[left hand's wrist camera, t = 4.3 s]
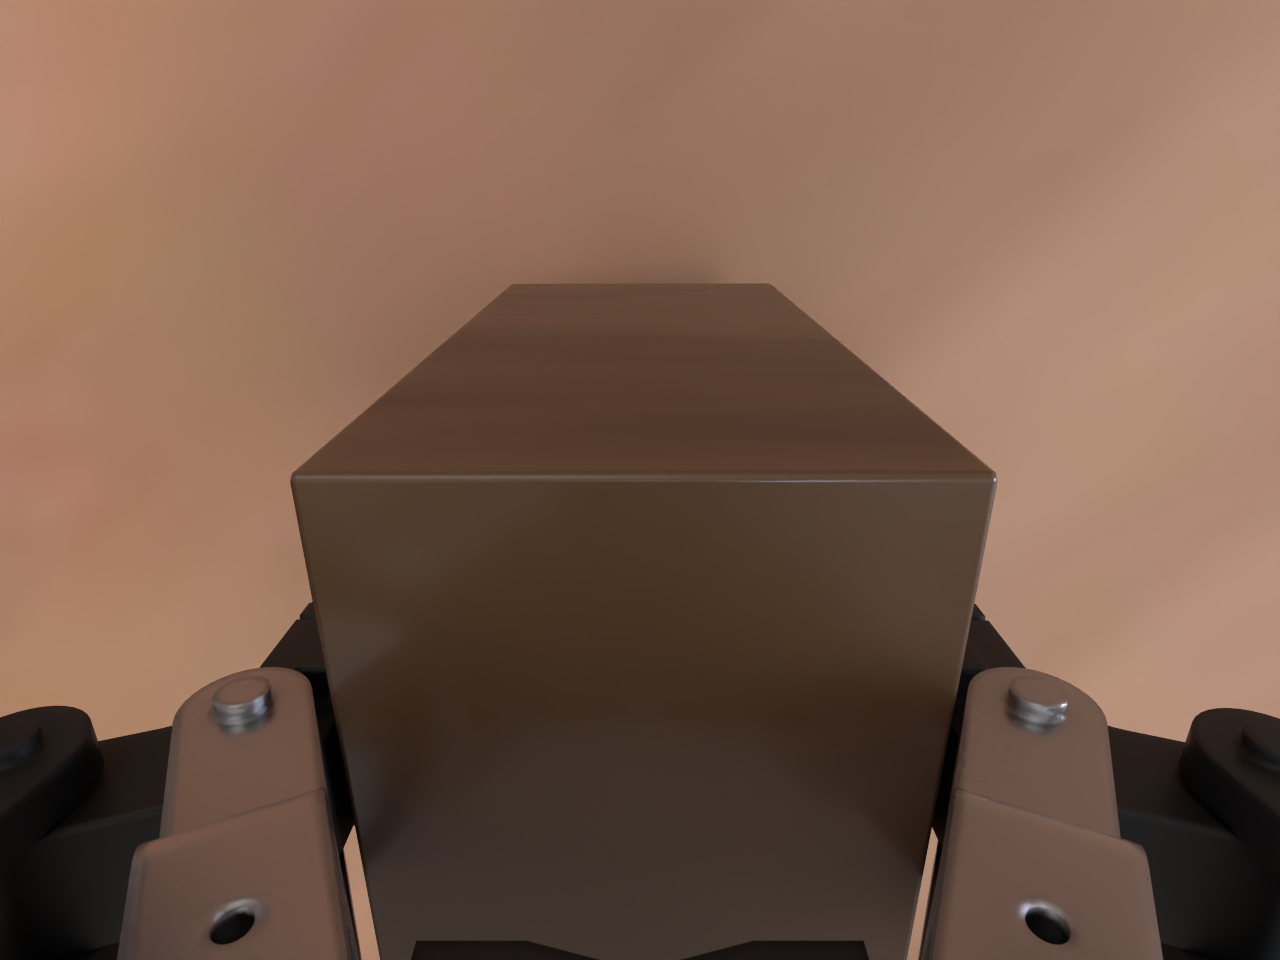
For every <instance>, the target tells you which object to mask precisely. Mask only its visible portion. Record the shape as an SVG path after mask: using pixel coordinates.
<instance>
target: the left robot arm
mask: <svg viewBox="0 0 1280 960" xmlns="http://www.w3.org/2000/svg"><path fill="white" fill-rule="evenodd" d="M353 825H355V823H354V817H353V812H352V807H351V801H350V796H349V791H348V785H347V780H346V775H345V770H344V764H343V759H342V754H341V748H340V743H339V738H338V732H337V727H336V722H335V716H334V711H333V706H332V700H331V695H330V690H329V685H328V679H327V674H326V669H325V663H324V658H323V653H322V647H321V642H320V637H319V631H318V626H317V621H316V616H315V610H314V605H313V602H312V603H309V604H308V605H307V607H306V608H305V609H304V611H303V612H302V613H301V615H300V620H296V621H295V622H294V624H293V625H292V626H291V627H290V629H289V630H288V631H287V633H286V634H285V635H284V637H283V638H282V639H281V640H280V642H279V643H278V644H277V646H276V647H275V648H274V650H273V651H272V652H271V653H270V655H269V656H268V657H267V659H266V660H265V661H264V663H263V664H262V665H261V666H260V668H255V669H250V670H245V671H241V672H238V673H234V674H231V675H228V676H226V677H223V678H221V679H219V680H216V681H214V682H212V683H210V684H208V685H207V686H205V687H203V688H202V689H200V690H199V691H197V692H196V693H194V694H193V695H192V696H191V697H190V698H188V699H187V700H186V701H185V702H184V703H183V705H182V706H181V707H180V708H179V709H178V711H177V713H176V715H175V717H174V721H173V726H170V727H165V728H161V729H157V730H152V731H147V732H142V733H137V734H132V735H127V736H122V737H117V738H112V739H108V740H103V741H98V740H97V737H96V734H95V731H94V728H93V725H92V722H91V719H90V718H89V716H88V715H87V714H86V713H85V712H84V711H82V710H80V709H77V708H74V707H68V706H47V707H39V708H33V709H28V710H24V711H20V712H16V713H13V714H10V715H7V716H4V717H1V718H0V960H362V959H361V952H360V946H359V940H358V933H357V927H356V921H355V914H354V908H353V902H352V896H351V889H350V883H349V877H348V870H347V864H346V859H345V854H344V849H343V848H344V845H345V843H346V841H347V839H348V836H349V834H350V832H351V830H352V827H353ZM932 828H933V830H934V832H935V834H936V836H937V839H938V844H937V849H936V854H935V859H934V864H933V870H932V876H931V883H930V889H929V895H928V902H927V908H926V914H925V921H924V927H923V933H922V940H921V946H920V952H919V958H918V960H1280V719H1279V718H1275V717H1272V716H1269V715H1266V714H1262V713H1258V712H1254V711H1249V710H1243V709H1233V708H1216V709H1211V710H1207V711H1204V712H1201V713H1200V714H1198V715H1197V716H1196V717H1195V718H1194V720H1193V722H1192V724H1191V727H1190V730H1189V733H1188V736H1187V739H1186V742H1181V741H1176V740H1171V739H1166V738H1161V737H1156V736H1151V735H1146V734H1141V733H1136V732H1132V731H1127V730H1122V729H1118V728H1114V727H1111V726H1108V725H1107V721H1106V717H1105V715H1104V713H1103V711H1102V710H1101V708H1100V707H1099V706H1098V705H1097V703H1096V702H1095V701H1094V700H1093V699H1091V698H1090V697H1089V696H1088V695H1087V694H1085V693H1084V692H1083V691H1081V690H1080V689H1078V688H1077V687H1075V686H1073V685H1072V684H1070V683H1068V682H1066V681H1064V680H1061V679H1059V678H1057V677H1054V676H1052V675H1049V674H1046V673H1042V672H1039V671H1035V670H1030V669H1026V668H1025V667H1024V666H1023V664H1022V663H1021V662H1020V660H1019V659H1018V658H1017V657H1016V655H1015V654H1014V653H1013V652H1012V650H1011V649H1010V648H1009V646H1008V645H1007V644H1006V643H1005V641H1004V640H1003V639H1002V637H1001V636H1000V635H999V634H998V632H997V631H996V630H995V628H994V627H993V626H992V625H991V623H990V622H989V621H985V616H984V614H983V613H982V612H981V611H980V609H979V608H978V607H977V605H976V604H974V607H973V612H972V617H971V623H970V628H969V633H968V638H967V644H966V649H965V654H964V660H963V665H962V670H961V675H960V681H959V686H958V691H957V697H956V702H955V707H954V712H953V718H952V723H951V728H950V733H949V739H948V744H947V749H946V755H945V760H944V765H943V770H942V776H941V781H940V786H939V791H938V797H937V802H936V807H935V813H934V818H933V823H932ZM411 960H599V959H595V958H591V957H587V956H584V955H580V954H576V953H572V952H568V951H564V950H561V949H557V948H553V947H549V946H545V945H541V944H538V943H534V942H530V941H416V944H415V947H414V950H413V954H412V957H411ZM681 960H869V957H868V954H867V950H866V947H865V944H864V941H750V942H746V943H742V944H739V945H735V946H731V947H727V948H723V949H719V950H716V951H712V952H708V953H704V954H700V955H696V956H693V957H689V958H685V959H681Z"/></svg>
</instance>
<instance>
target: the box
mask: <svg viewBox="0 0 1280 960" xmlns="http://www.w3.org/2000/svg"><path fill="white" fill-rule="evenodd" d="M996 486H997V477H996V473H995V472H994V471H993V470H992V469H991V468H989V467H988V466H987V465H986V464H985V463H983V462H982V461H981V460H980V459H979V458H977V457H976V456H975V455H974V454H973V453H971V452H970V451H969V450H968V449H967V448H966V447H964V446H963V445H962V444H961V443H960V442H958V441H957V440H956V439H955V438H954V437H952V436H951V435H950V434H949V433H948V432H946V431H945V430H944V429H943V428H942V427H940V426H939V425H938V424H937V423H936V422H935V421H933V420H932V419H931V418H930V417H929V416H927V415H926V414H925V413H924V412H923V411H921V410H920V409H919V408H918V407H917V406H915V405H914V404H913V403H912V402H911V401H909V400H908V399H907V398H906V397H905V396H903V395H902V394H901V393H900V392H899V391H898V390H896V389H895V388H894V387H893V386H892V385H890V384H889V383H888V382H887V381H886V380H884V379H883V378H882V377H881V376H880V375H878V374H877V373H876V372H875V371H874V370H872V369H871V368H870V367H869V366H868V365H866V364H865V363H864V362H863V361H862V360H861V359H859V358H858V357H857V356H856V355H855V354H853V353H852V352H851V351H850V350H849V349H847V348H846V347H845V346H844V345H843V344H841V343H840V342H839V341H838V340H837V339H835V338H834V337H833V336H832V335H831V334H830V333H828V332H827V331H826V330H825V329H824V328H822V327H821V326H820V325H819V324H818V323H816V322H815V321H814V320H813V319H812V318H810V317H809V316H808V315H807V314H806V313H804V312H803V311H802V310H801V309H800V308H798V307H797V306H796V305H795V304H794V303H793V302H791V301H790V300H789V299H788V298H787V297H785V296H784V295H783V294H782V293H781V292H779V291H778V290H777V289H776V288H775V287H773V286H772V285H771V284H513V285H511V286H510V287H508V288H507V289H506V290H505V291H504V292H503V293H501V294H500V295H499V296H498V297H497V298H496V299H494V300H493V301H492V302H491V303H490V304H489V305H487V306H486V307H485V308H484V309H483V310H482V311H480V312H479V313H478V314H477V315H476V316H475V317H473V318H472V319H471V320H470V321H469V322H468V323H467V324H465V325H464V326H463V327H462V328H461V329H460V330H458V331H457V332H456V333H455V334H454V335H453V336H451V337H450V338H449V339H448V340H447V341H446V342H444V343H443V344H442V345H441V346H440V347H439V348H437V349H436V350H435V351H434V352H433V353H432V354H430V355H429V356H428V357H427V358H426V359H425V360H424V361H422V362H421V363H420V364H419V365H418V366H417V367H415V368H414V369H413V370H412V371H411V372H410V373H408V374H407V375H406V376H405V377H404V378H403V379H401V380H400V381H399V382H398V383H397V384H396V385H394V386H393V387H392V388H391V389H390V390H389V391H387V392H386V393H385V394H384V395H383V396H382V397H381V398H379V399H378V400H377V401H376V402H375V403H374V404H372V405H371V406H370V407H369V408H368V409H367V410H365V411H364V412H363V413H362V414H361V415H360V416H358V417H357V418H356V419H355V420H354V421H353V422H351V423H350V424H349V425H348V426H347V427H346V428H344V429H343V430H342V431H341V432H340V433H339V434H338V435H336V436H335V437H334V438H333V439H332V440H331V441H329V442H328V443H327V444H326V445H325V446H324V447H322V448H321V449H320V450H319V451H318V452H317V453H315V454H314V455H313V456H312V457H311V458H310V459H308V460H307V461H306V462H305V463H304V464H303V465H301V466H300V467H299V468H298V469H297V470H296V471H295V472H293V473H292V476H291V488H292V493H293V499H294V504H295V509H296V515H297V520H298V525H299V531H300V536H301V541H302V547H303V552H304V557H305V562H306V568H307V573H308V578H309V584H310V589H311V594H312V600H313V605H314V610H315V616H316V621H317V626H318V631H319V637H320V642H321V647H322V653H323V658H324V663H325V669H326V674H327V679H328V685H329V690H330V695H331V700H332V706H333V711H334V716H335V722H336V727H337V732H338V738H339V743H340V748H341V754H342V759H343V764H344V770H345V775H346V780H347V785H348V791H349V796H350V801H351V807H352V812H353V817H354V823H355V828H356V833H357V839H358V844H359V849H360V854H361V860H362V865H363V870H364V876H365V881H366V886H367V892H368V897H369V902H370V908H371V913H372V918H373V923H374V929H375V934H376V939H377V945H378V950H379V955H380V960H411V957H412V954H413V950H414V947H415V944H416V941H530V942H534V943H538V944H541V945H545V946H549V947H553V948H557V949H561V950H564V951H568V952H572V953H576V954H580V955H584V956H587V957H591V958H595V959H599V960H681V959H685V958H689V957H693V956H696V955H700V954H704V953H708V952H712V951H716V950H719V949H723V948H727V947H731V946H735V945H739V944H742V943H746V942H750V941H864V944H865V947H866V950H867V954H868V957H869V960H907V955H908V950H909V944H910V939H911V934H912V929H913V923H914V918H915V913H916V907H917V902H918V897H919V892H920V886H921V881H922V876H923V871H924V865H925V860H926V855H927V849H928V844H929V839H930V834H931V828H932V823H933V818H934V813H935V807H936V802H937V797H938V791H939V786H940V781H941V776H942V770H943V765H944V760H945V755H946V749H947V744H948V739H949V733H950V728H951V723H952V718H953V712H954V707H955V702H956V697H957V691H958V686H959V681H960V675H961V670H962V665H963V660H964V654H965V649H966V644H967V638H968V633H969V628H970V623H971V617H972V612H973V607H974V602H975V596H976V591H977V586H978V580H979V575H980V570H981V565H982V559H983V554H984V549H985V544H986V538H987V533H988V528H989V522H990V517H991V512H992V507H993V501H994V496H995V491H996Z"/></svg>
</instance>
